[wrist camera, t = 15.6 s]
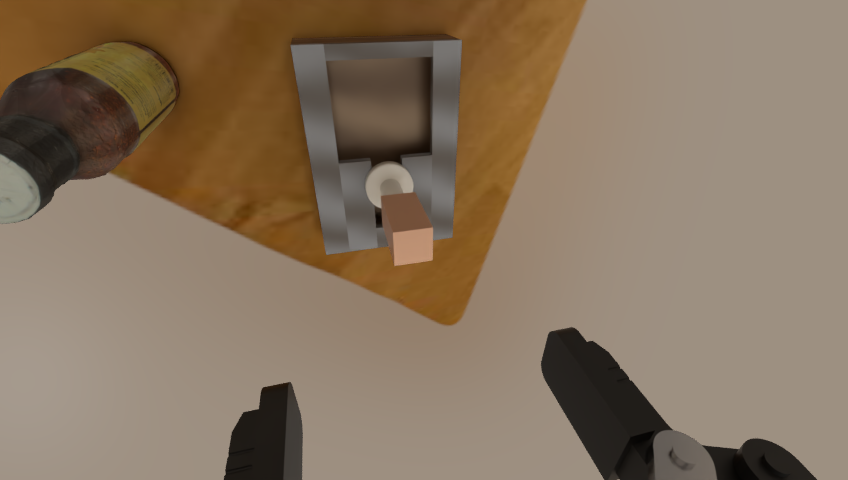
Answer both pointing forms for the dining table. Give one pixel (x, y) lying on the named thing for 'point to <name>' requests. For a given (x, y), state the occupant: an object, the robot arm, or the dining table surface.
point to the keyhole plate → (378, 127)
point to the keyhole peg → (400, 213)
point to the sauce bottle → (78, 121)
